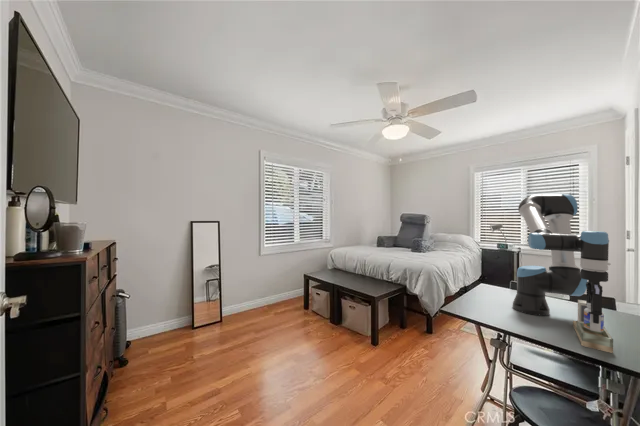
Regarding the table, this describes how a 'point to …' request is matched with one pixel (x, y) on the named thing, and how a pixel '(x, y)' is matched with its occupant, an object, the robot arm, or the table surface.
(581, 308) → the white upright block
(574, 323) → the tray
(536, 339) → the table surface
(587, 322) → the pill bottle
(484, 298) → the table surface
